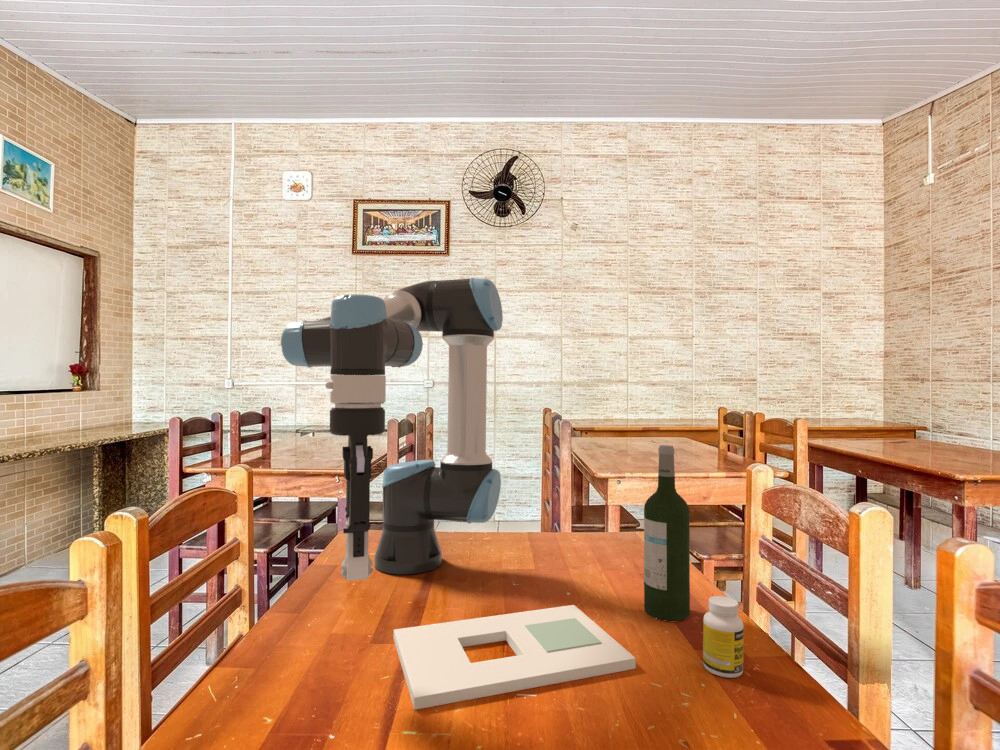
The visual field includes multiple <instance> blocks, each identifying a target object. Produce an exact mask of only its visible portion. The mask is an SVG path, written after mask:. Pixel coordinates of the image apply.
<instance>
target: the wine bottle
mask: <svg viewBox="0 0 1000 750" xmlns="http://www.w3.org/2000/svg"><path fill="white" fill-rule="evenodd" d="M674 455H675V448H674V445H669V444H662V445H661V444H660V445H659V447H658V473H657V474H658V475H657V488H656V491H655V492H654V493H653V494H652V495H650V496H649V497H648V499H646V500H645V501H646V502H645V503H644V508H643V545H644V546H643V564H644V565H643V568H644V569H643V573H644V574H643V575H644V576H643V577H644V578H643V586H644V587H643V593H644V594H643V597H644V598H643V601H644V602H643V603H644V604H643V608H644V612H645V613H646V615H647V616H649V615H650V616H649V617H651V616H652V617H651V618H653V617H654V618H653V619H655V618H657V619H656V620H658V619H660V620H659V621H662V620H666V621H665V622H668V621H678V622H681V621H680V620H683V621H685V620H687V619H688V618H689V617H690V615H691V595H690V594H691V588H690V585H691V584H690V583H691V581H690V580H691V579H690V577H691V573H690V572H691V571H690V570H691V569H690V567H691V566H690V565H691V563H690V562H691V561H690V560H691V559H690V558H691V557H690V556H691V553H690V552H691V551H690V547H691V546H690V543H691V541H690V540H691V539H690V536H691V535H690V533H691V529H690V528H691V527H690V518H691V517H690V515H691V513H690V508H689V505H688V503H687V501H686V500H685V499H684V498H683V497H682V496H681V495H680V494H679V493H678V492H677V489H676V480H675V479H676V478H675V474H676V473H675V456H674ZM686 618H687V619H686ZM684 619H685V620H684Z"/></svg>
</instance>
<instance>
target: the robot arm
mask: <svg viewBox="0 0 1000 750" xmlns="http://www.w3.org/2000/svg"><path fill="white" fill-rule="evenodd" d="M503 319H504V318H503V308H502V301H501V297H500V293H499V292H498V288H497V286H496V285H495V283H494V282H493V281H492V280H491V279H488V278H474V277H470V278H460V279H458V278H457V279H445V280H426V281H422V282H418V283H415V284H412V285H407V286H405V287H402V288H400V289H397V290H393V291H391V292H389V293H388V294H387V295H386V296H385V297H384V298H382V297H379V296H375V295H371V294H370V295H369V294H356V293H355V294H341V295H338V296H336V297H335V298H334V299H333V300H332V302H331V311H330V316H328V317H323V318H321V319H317V320H302V321H294V322H290V323H289V324H287V325H286V327H284V329H283V331H282V333H281V338H280V346H281V353H282V355H283V357H284V359H285V360H286V362H288V363H289V364H290V365H292V366H295V367H307V368H313V367H315V368H317V367H330V370H329V371H330V373H329V374H330V380H331V381H327V382H326V383H325V389H327V390H331V391H330V396H329V397H330V399H329V400H330V403H331V404H333V405H334V407H332V408H331V409H329V432H330V434H332V435H333V436H340V437H342V436H343V437H344V436H345V437H346V436H348V437H347V438H348V439H347V441H348V442H347V445H346V446H342V460H343V474H344V477H345V481H346V483H345V485H346V486H345V487H346V489H345V490H346V493H345V502H346V503H345V507H344V508H345V509H344V511H345V513H346V514H345V519H346V521H345V524H346V523H347V522H348V517H349V527H348V528H346V527H345V528H343V530H342V532H343V533H342V534H345V554H346V553H347V579H346V581H347V582H351V581H362V580H369V577H368V555H369V531H370V529H371V523H370V512H371V511H370V509H371V508H370V507H371V506H370V505H371V504H370V499H371V497H370V495H371V493H370V492H371V490H370V489H371V486H370V485H371V484H370V483H371V480H370V479H371V478H372V461H373V459H374V449H373V447H372V445H368V437H369V436H376V435H381V434H383V433H384V432H385V430H386V409H384V407H382V405H383V404H385V402H386V387H387V386H386V385H387V384H386V379H387V378H386V367H392V368H402V367H408V366H411V365H412V364H413V363H415V362H416V361H417V360H418V359H419V357H420V356H421V353H422V352H423V351H422V350H423V345H424V343H423V338H422V335H421V332H432V333H433V332H439V333H440V332H442V334H441V335H442V338H441V339H442V340H443V341H444V342H445V343H446V344H447V345H448V379H447V380H448V387H447V388H448V392H447V393H448V395H447V447H446V448H447V449H446V450H447V451H446V454H445V455H444V456H443V457H442V458H441V459H440V464H439V465H440V466H438V467H436V463H435V460H433V459H420V460H411V461H405V462H404V461H403V462H399V463H394V464H391V465H388V466H387V467H386V468H385V469H384V472H383V479H382V480H383V481H382V485H381V487H382V531H381V536H380V538H379V542H378V544H377V547H376V550H375V554H374V568H375V569H376V570H377V571H379V572H382V573H386V574H390V575H414V574H421V573H427V572H429V571H433V570H435V569H437V568H438V567H440V566H441V564H442V563H443V562H442V560H443V558H442V554H443V553H442V549H441V545H440V543H439V540H438V537H437V534H436V530H435V521H445V522H446V521H447V522H448V521H449V522H458V523H459V522H461V523H467V524H473V523H474V524H475V523H476V524H479V523H481V524H483V523H487V522H489V521H490V520H491V519H492V517H494V514H495V512H496V509H497V507H498V504H499V503H498V502H499V500H500V499H499V498H500V494H501V487H502V486H501V485H502V479H501V473H500V471H499V470H497V469H496V468H493V459H492V457H491V458H490V456H489V455H488V454H487V386H488V385H487V381H488V380H487V377H488V376H487V375H488V374H487V373H488V372H487V371H488V369H487V367H488V346H489V345H490V344H491V343H492V342H493V341H495V339H494V338H495V332H498V331H499V330H501V329H502V327H503V322H504V321H503ZM347 535H348V538H347ZM347 548H348V549H347Z"/></svg>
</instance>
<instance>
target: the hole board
mask: <svg viewBox="0 0 1000 750" xmlns="http://www.w3.org/2000/svg"><path fill="white" fill-rule="evenodd" d="M504 641H506V643H507V644H508V645H509V647H510V648H511V649H512V650H513V652H514V654H515V655H512V656H506V657H501V658H500V657H499V658H494V659H488V660H483V661H481V660H480V661H476V662H471V661H470V659H469V657H468V656H467V655H468V654H466V651H465V650H464V648H465V647H472V646H477V645H485V644H491V643H497V642H504ZM393 642H394V645H395V648H396V653H397V654H398V658H399V662H400V665H401V668H402V672H403V676H404V680H405V683H406V685H407V690H408V693H409V696H410V699H411V703H412V707H413V709H414V711H417V710H420V709H426V708H431V707H435V706H436V707H437V706H443V705H447V704H448V705H449V704H452V703H457V702H458V703H460V702H464V701H468V700H469V701H470V700H474V699H475V700H476V699H479V698H484V697H491V696H495V695H500V694H506V693H511V692H518V691H523V690H528V689H533V688H534V689H535V688H538V687H543V686H544V687H545V686H549V685H554V684H555V685H556V684H560V683H566V682H571V681H576V680H581V679H582V680H583V679H586V678H593V677H598V676H603V675H604V676H605V675H608V674H615V673H618V672H625V671H629V670H630V671H631V670H635V669H637V666H636V664H637V661H636V660H637V659H636V657H635V656H634V655H632V653H631V652H629V651H628V650H627V649H626V648H625V647H623V645H621V643H619V642H618V641H616V640H615V639H614V638H613V637H612V636H611V635H609V634H608V632H606V631H605V630H604V629H602V627H601V626H599V625H598V624H597V623H596V622H595V621H594V620H592V619H591V618H590V617H588V616H587V615H586V614H585V613H584V612H583V611H582V610H581V609H579V608H578V607H577V606H576V605H574V604H570V605H569V604H568V605H561V606H556V607H548V608H541V609H536V610H535V609H533V610H526V611H518V612H512V613H506V614H503V613H502V614H498V615H497V614H496V615H490V616H484V617H481V616H480V617H475V618H469V619H468V618H467V619H460V620H454V621H447V622H438V623H432V624H431V623H430V624H425V625H418V626H410V627H409V626H408V627H403V628H396V629H393Z"/></svg>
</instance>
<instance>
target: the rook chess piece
mask: <svg viewBox="0 0 1000 750" xmlns="http://www.w3.org/2000/svg"><path fill="white" fill-rule="evenodd" d="M346 522H347V523H346ZM346 522H345V525H344V527H345V529H346V528H348V527H349V517H348V520H347V521H346ZM347 538H348V535H347ZM347 549H348V548H347ZM343 559H344V560H343V561H341V564H340V568H341V569H342V570H341V571H340V575H341V576H342V578H343V579H345V580H347V553H346V552H345V556H344V558H343ZM372 566H373V560H372V559H371V558H370V554H368V578H369V577H370V576H371V574H373V572H374V569H373V568H372Z"/></svg>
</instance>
